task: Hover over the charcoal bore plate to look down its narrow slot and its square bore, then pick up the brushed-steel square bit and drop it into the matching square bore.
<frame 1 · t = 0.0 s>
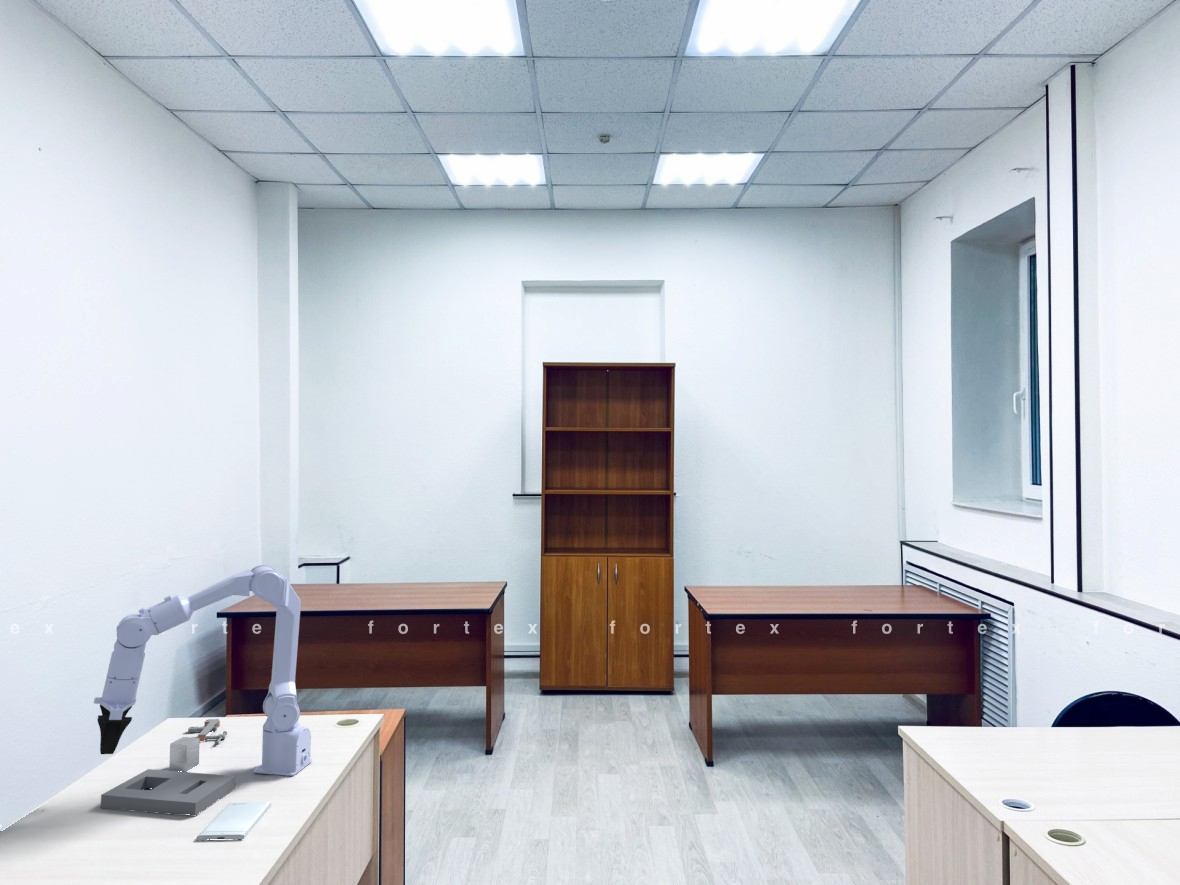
hand: (107, 746, 142), 11 cm above the table, tool pointing down, fingers open, 7 cm apart
hard drive: (235, 827, 134), on the table
bore plate: (170, 797, 143), on the table
square bit: (184, 768, 157), on the table
clamp: (206, 738, 176), on the table
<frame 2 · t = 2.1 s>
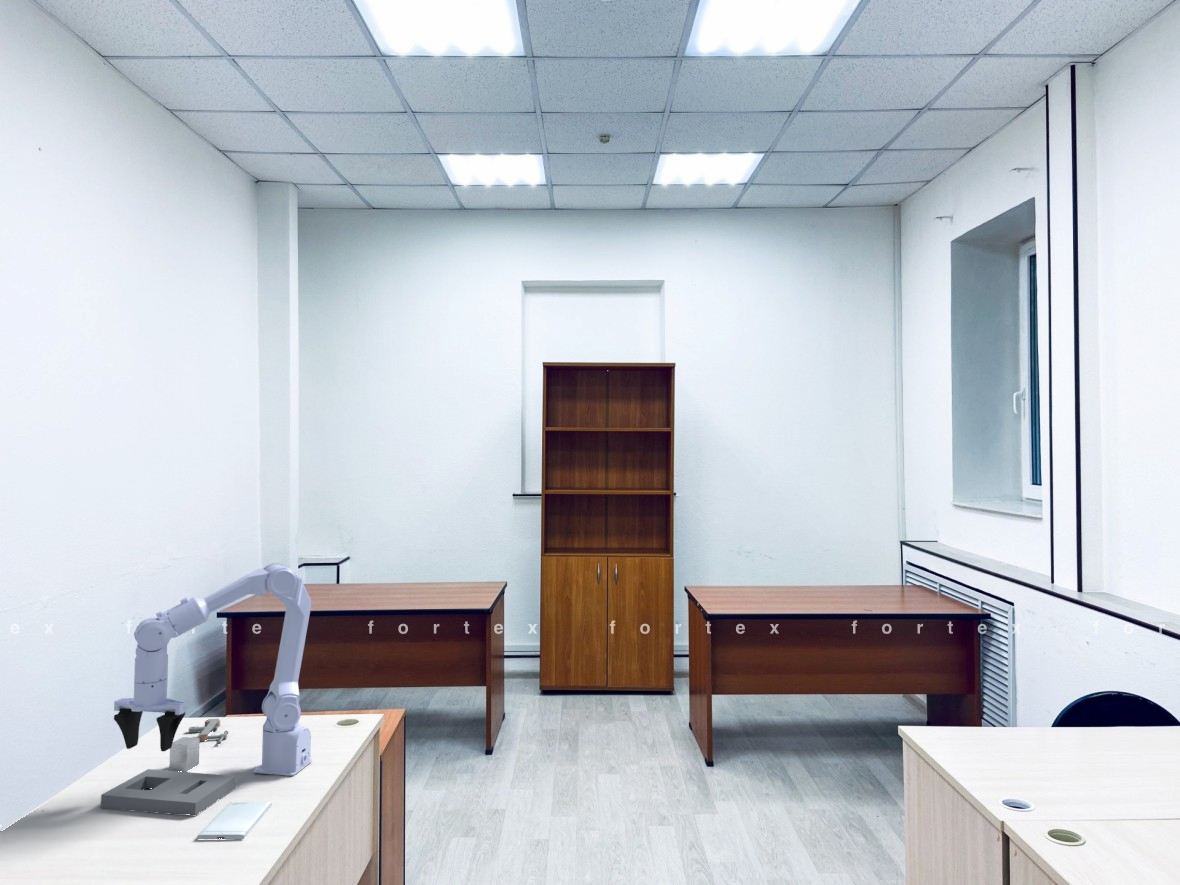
hand: (149, 748, 144), 9 cm above the table, tool pointing down, fingers open, 7 cm apart
nothing on the table moved.
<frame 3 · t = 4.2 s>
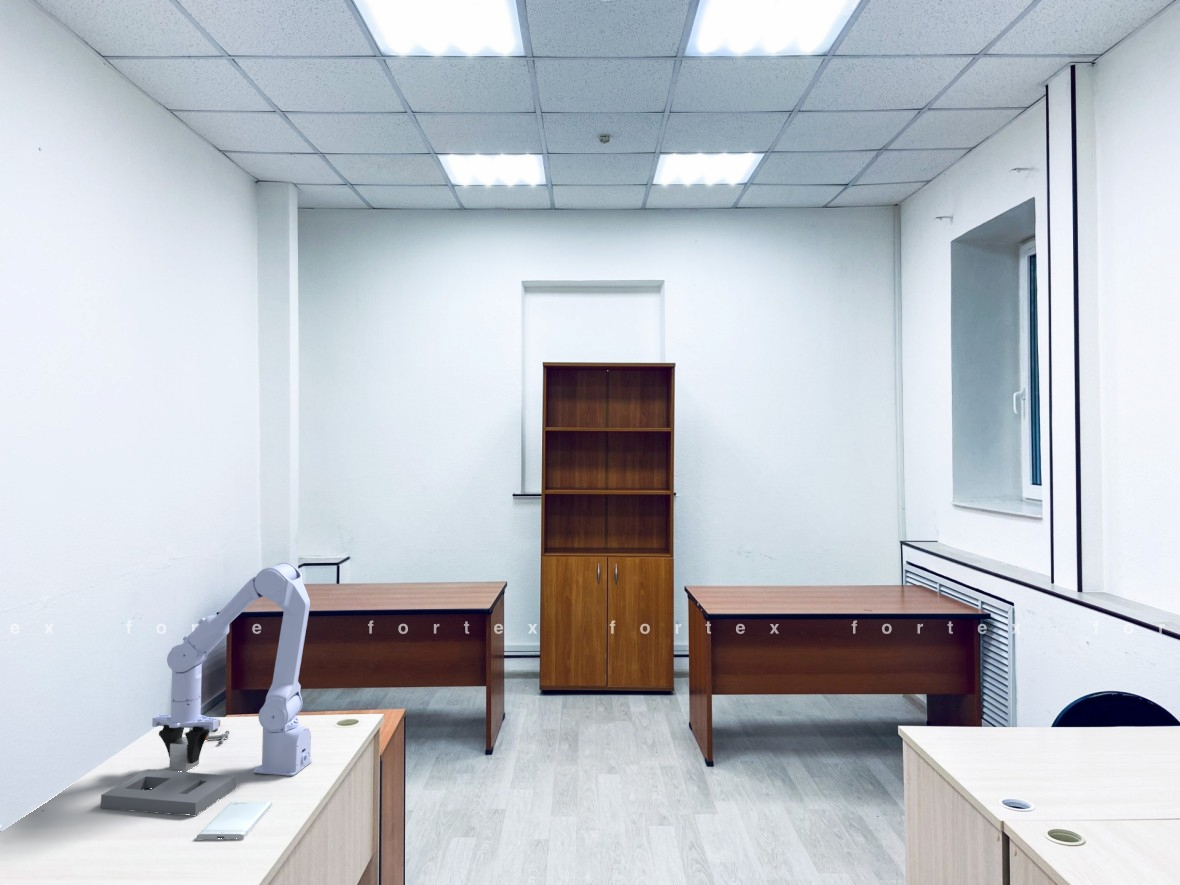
hand: (184, 761, 157), 2 cm above the table, tool pointing down, fingers closed on square bit, 4 cm apart
square bit: (184, 768, 157), on the table, touching gripper
everything else where it was.
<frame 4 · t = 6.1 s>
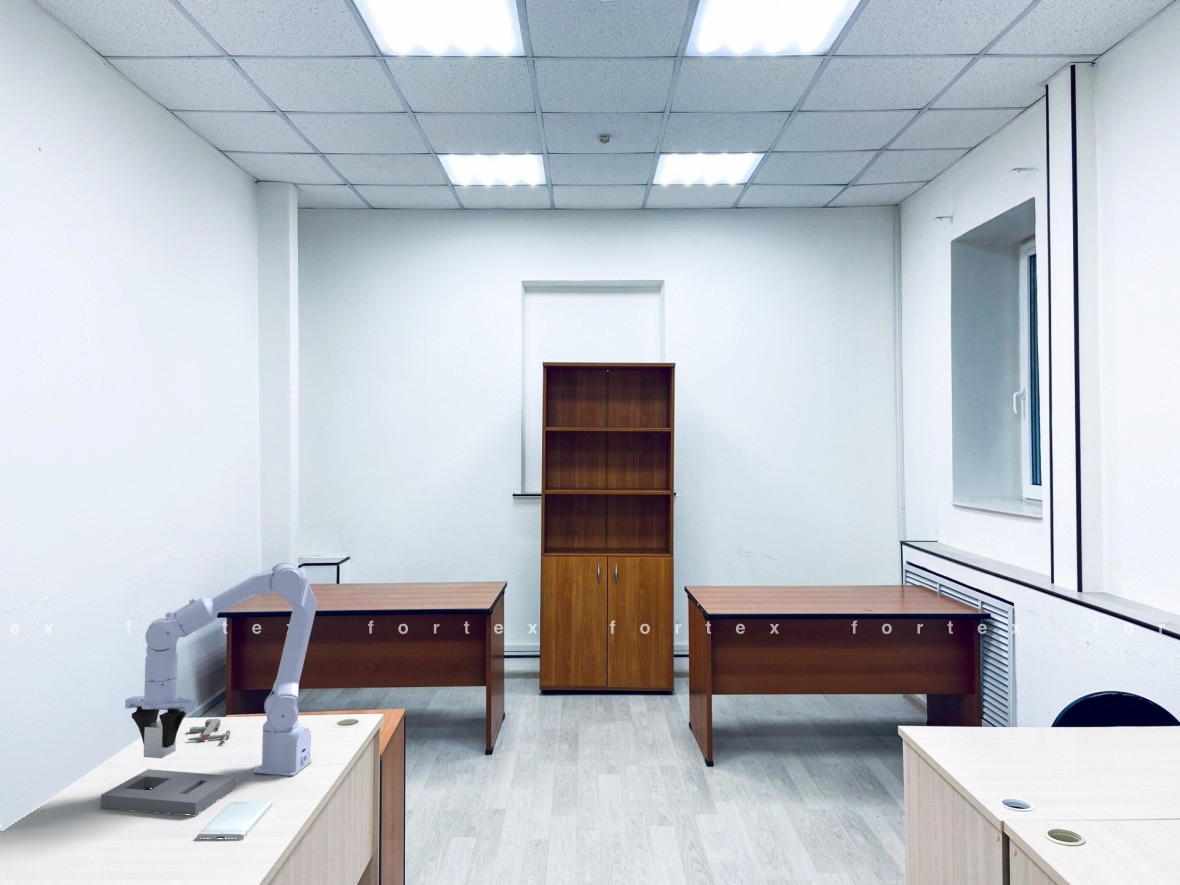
hand: (158, 745, 148), 9 cm above the table, tool pointing down, fingers closed on square bit, 4 cm apart
square bit: (159, 753, 148), point 7 cm above the table, touching gripper
everything else where it was.
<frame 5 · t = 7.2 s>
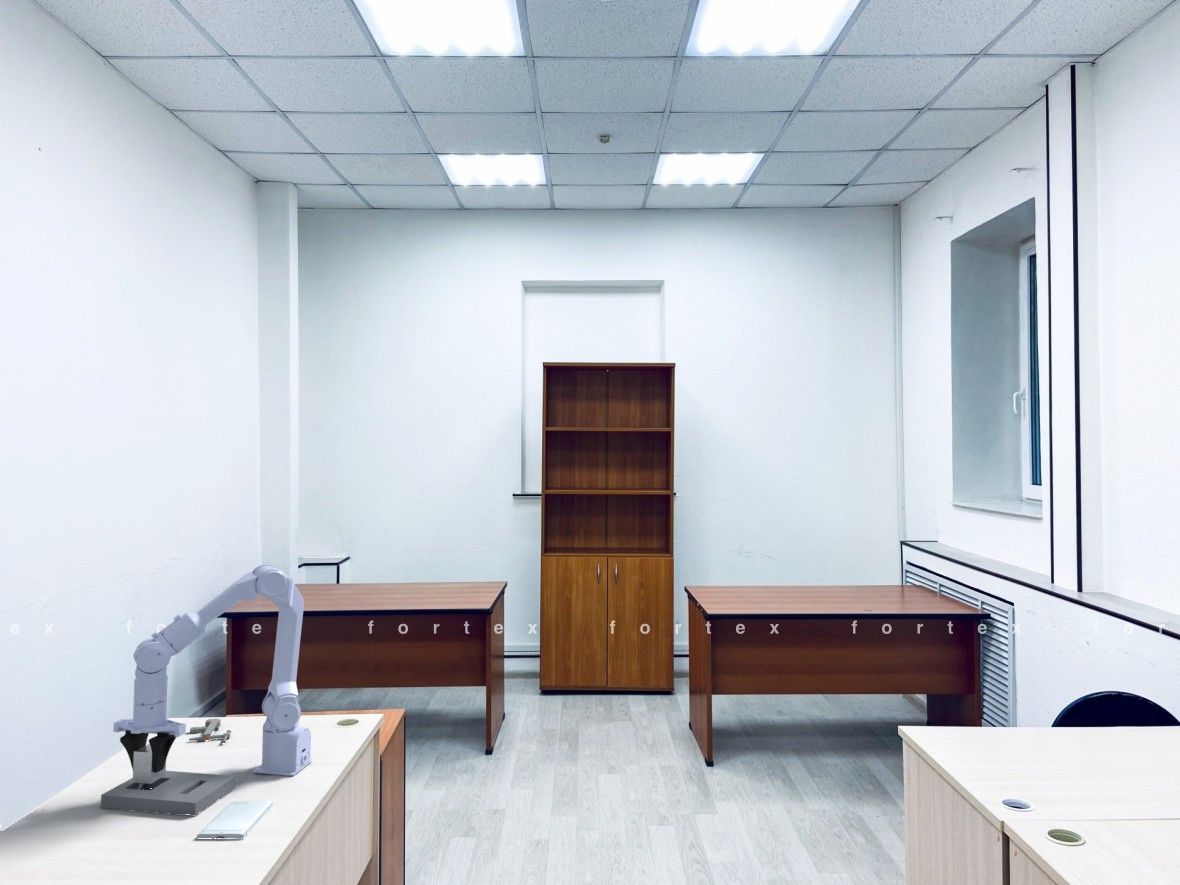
hand: (148, 769, 144), 5 cm above the table, tool pointing down, fingers closed on square bit, 4 cm apart
square bit: (149, 778, 144), point 3 cm above the table, touching gripper
everything else where it was.
when the fingers open (3 cm above the table, at t = 8.1 s): square bit drops 1 cm, resting in bore plate.
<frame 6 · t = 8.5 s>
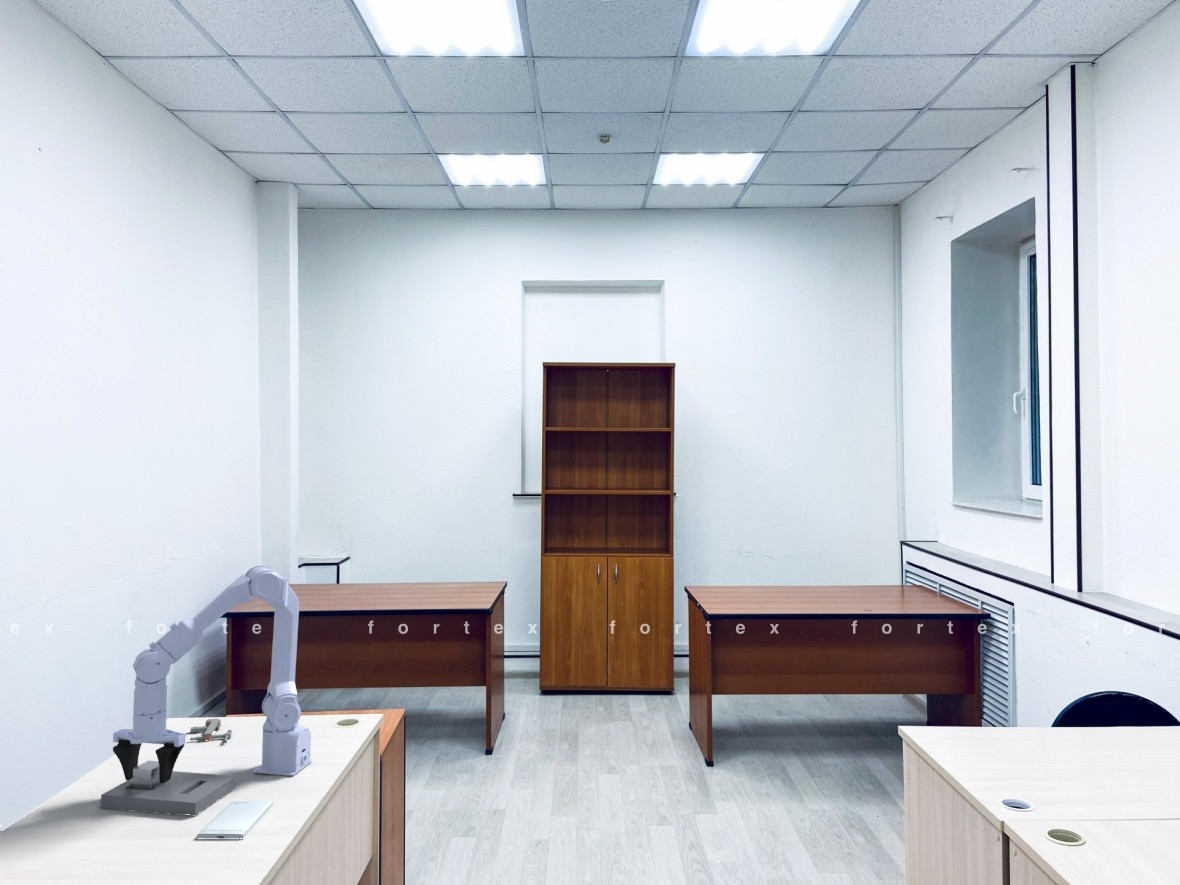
hand: (148, 779, 144), 3 cm above the table, tool pointing down, fingers open, 7 cm apart
square bit: (148, 795, 144), resting in bore plate
everything else where it was.
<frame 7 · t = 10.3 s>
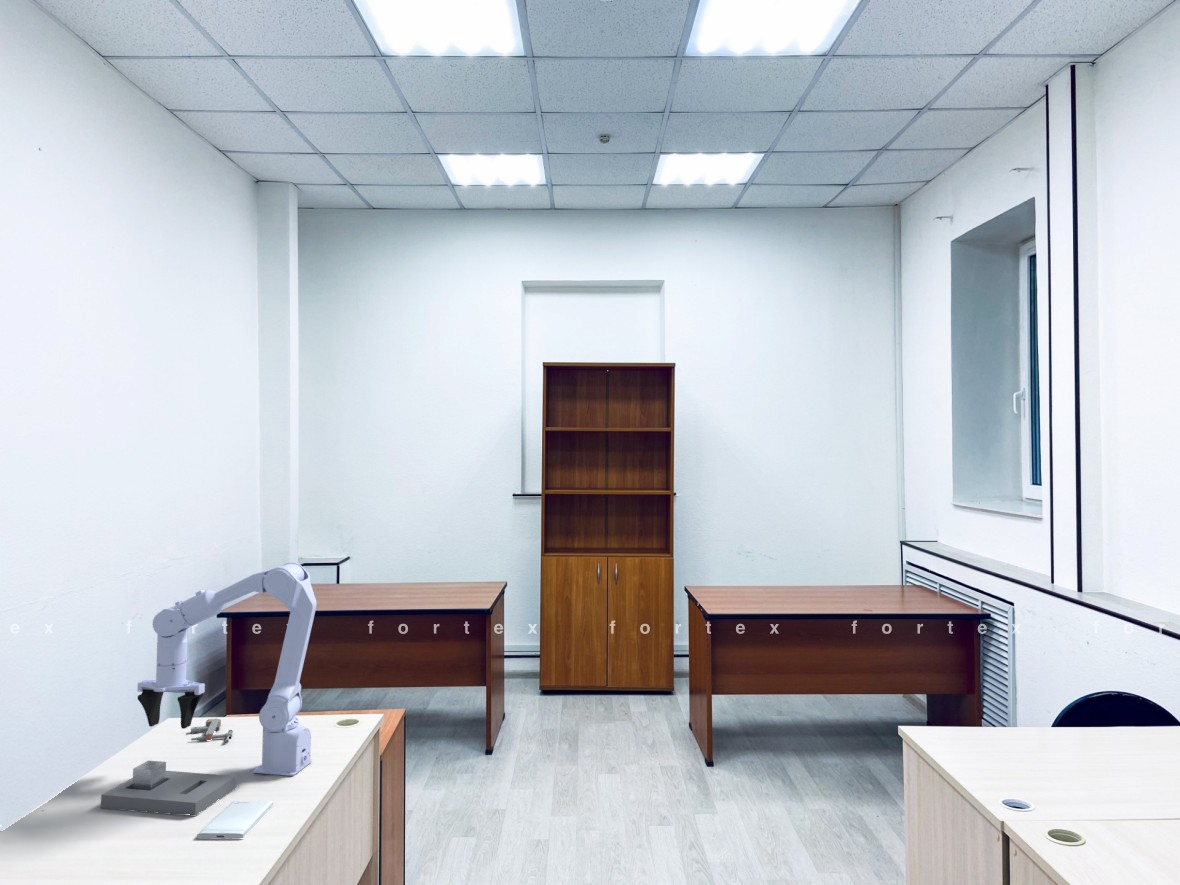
hand: (169, 725, 157), 9 cm above the table, tool pointing down, fingers open, 7 cm apart
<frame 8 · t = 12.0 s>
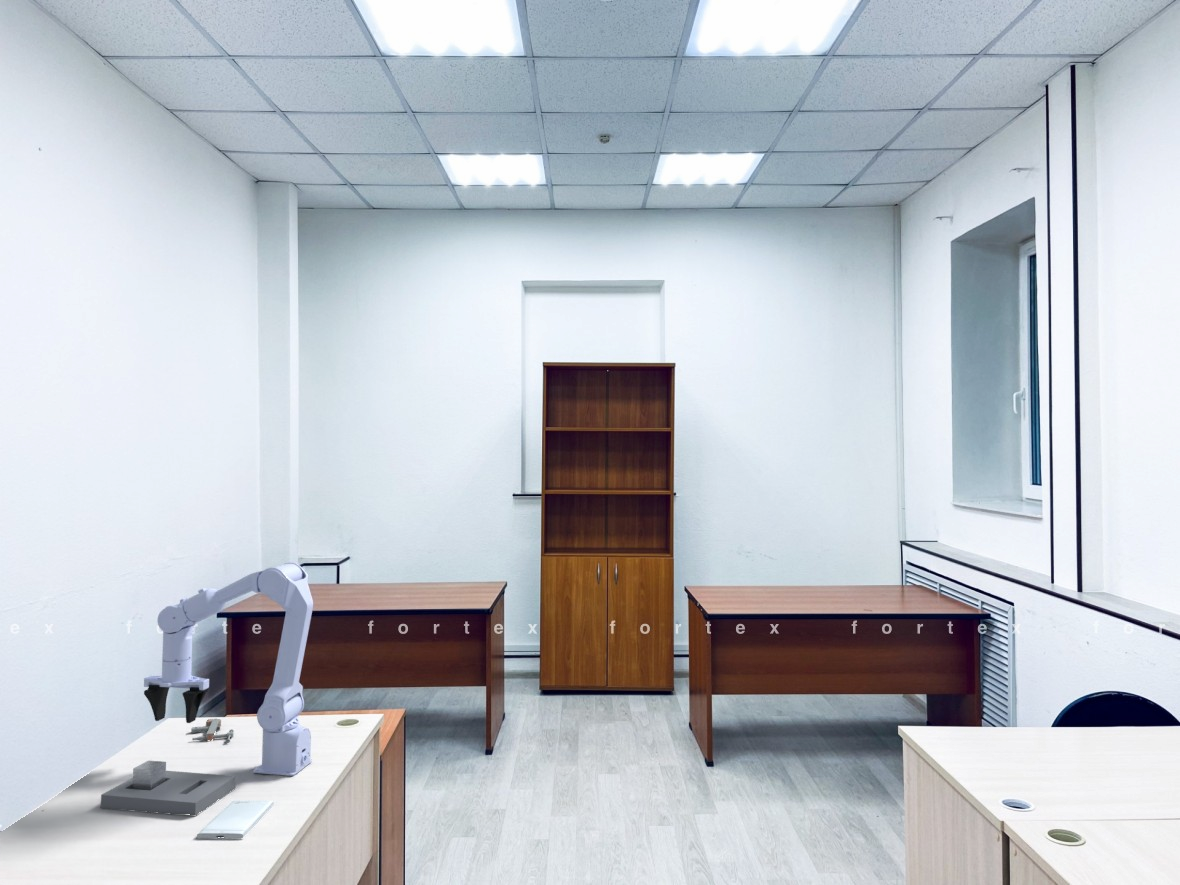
hand: (175, 720, 160), 9 cm above the table, tool pointing down, fingers open, 7 cm apart
at the end: square bit 0.4 cm from the target spot on the bore plate, point 0.0 cm above the bore plate's base; square bit tilted 0°; the gripper is holding nothing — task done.
